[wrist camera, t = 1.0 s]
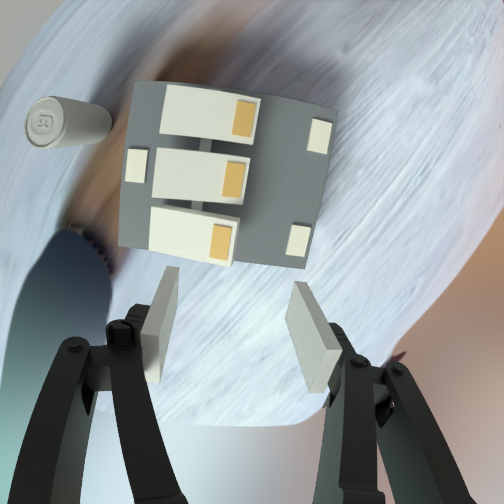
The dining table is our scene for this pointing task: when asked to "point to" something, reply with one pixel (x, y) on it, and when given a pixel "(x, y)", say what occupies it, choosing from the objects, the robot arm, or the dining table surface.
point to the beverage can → (65, 123)
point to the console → (258, 180)
